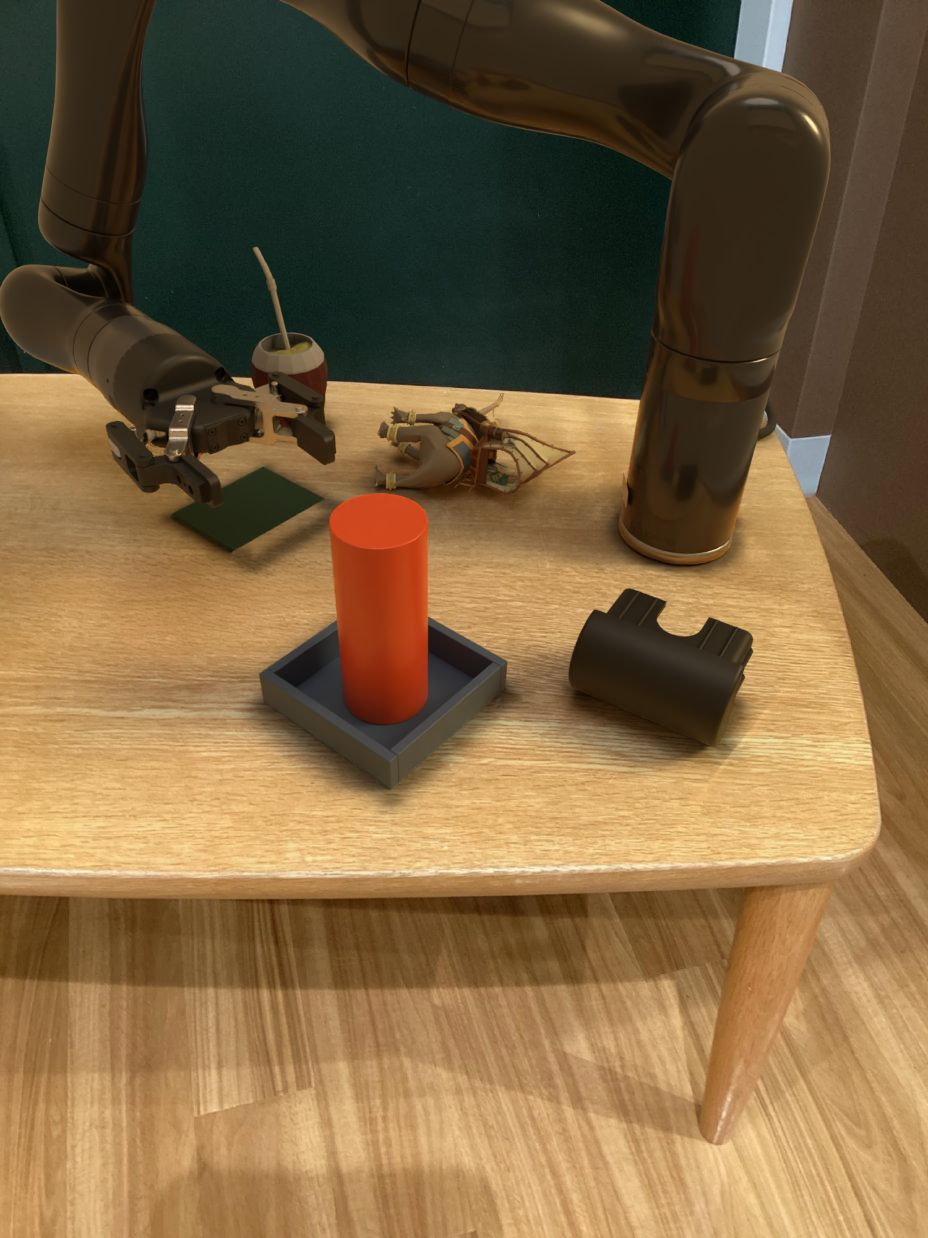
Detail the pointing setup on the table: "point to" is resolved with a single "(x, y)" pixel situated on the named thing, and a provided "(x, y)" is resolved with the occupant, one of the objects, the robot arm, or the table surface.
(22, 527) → the table surface
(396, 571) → the tube
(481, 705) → the dark grey square tray
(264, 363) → the mate gourd
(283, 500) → the mat
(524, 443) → the figurine
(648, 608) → the end cap
